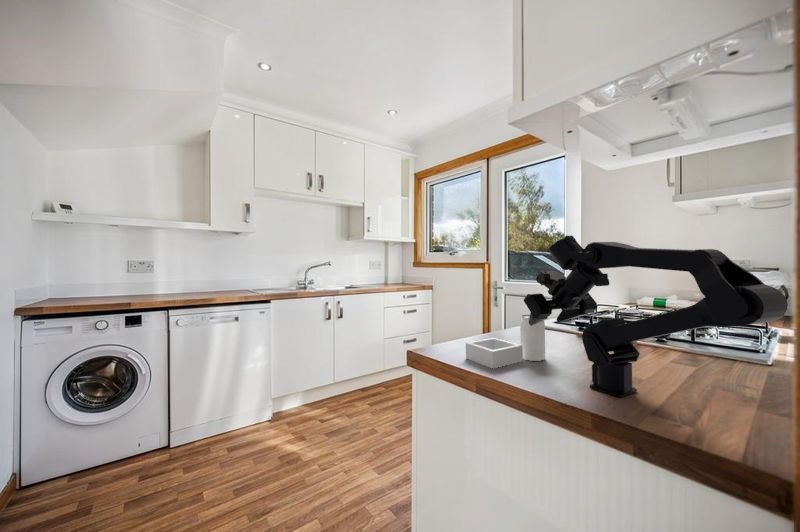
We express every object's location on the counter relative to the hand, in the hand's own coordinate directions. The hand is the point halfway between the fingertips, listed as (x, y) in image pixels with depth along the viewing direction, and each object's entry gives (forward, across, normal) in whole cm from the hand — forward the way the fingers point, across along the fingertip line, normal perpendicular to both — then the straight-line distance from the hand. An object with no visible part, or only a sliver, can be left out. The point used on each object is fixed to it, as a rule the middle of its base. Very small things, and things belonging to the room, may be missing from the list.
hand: (544, 322), depth 90 cm
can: (+11, 0, +5) cm, 12 cm away
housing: (+13, +11, +2) cm, 17 cm away
